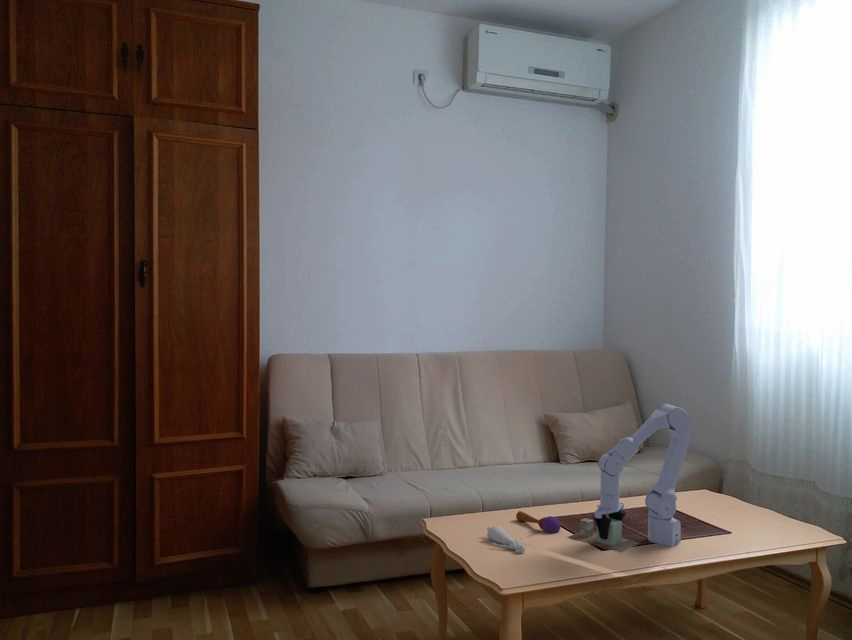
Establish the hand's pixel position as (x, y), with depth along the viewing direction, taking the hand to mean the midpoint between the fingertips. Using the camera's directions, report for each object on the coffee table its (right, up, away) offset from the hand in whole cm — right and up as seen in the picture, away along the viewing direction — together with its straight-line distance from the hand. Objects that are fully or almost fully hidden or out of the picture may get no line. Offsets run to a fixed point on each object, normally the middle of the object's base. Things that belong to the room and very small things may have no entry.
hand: (609, 536), depth 220 cm
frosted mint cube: (0, -2, 0) cm, 2 cm away
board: (-1, -3, +1) cm, 4 cm away
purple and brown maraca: (-20, -3, +17) cm, 26 cm away
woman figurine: (-32, -3, 0) cm, 33 cm away
